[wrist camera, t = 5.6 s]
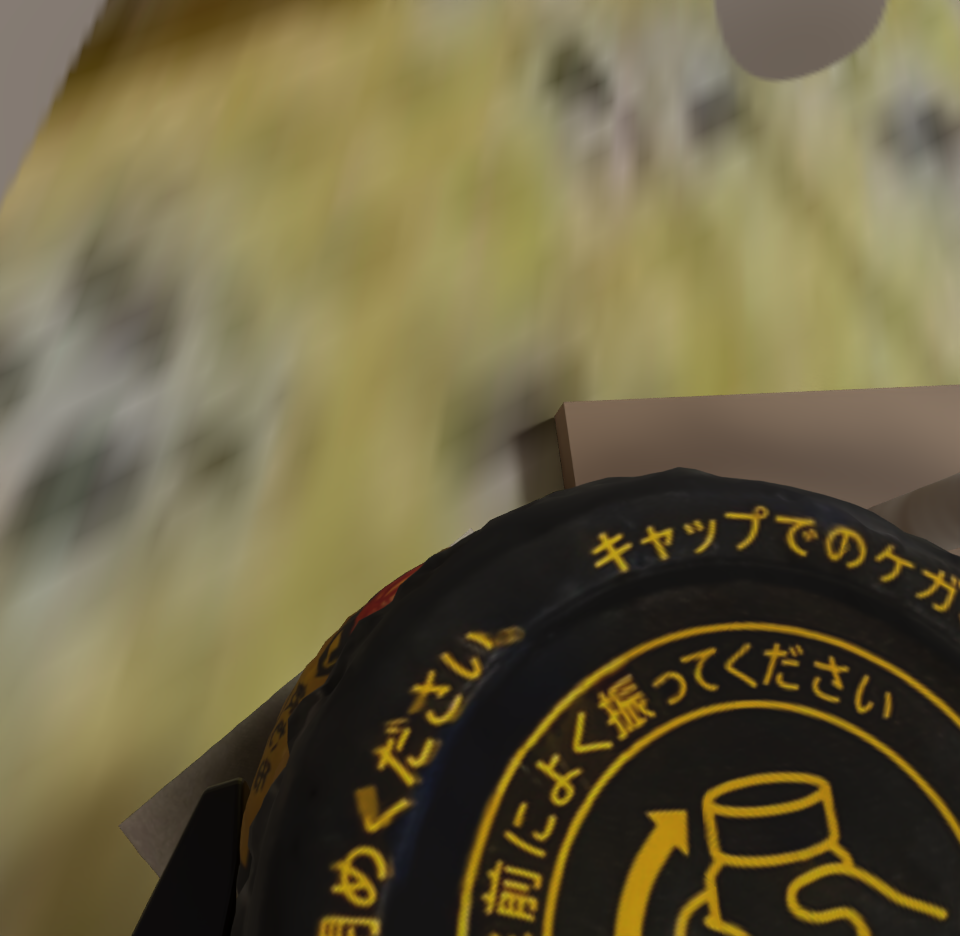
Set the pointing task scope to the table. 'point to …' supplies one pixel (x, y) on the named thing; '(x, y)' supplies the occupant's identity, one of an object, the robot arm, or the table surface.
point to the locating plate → (788, 446)
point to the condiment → (615, 731)
